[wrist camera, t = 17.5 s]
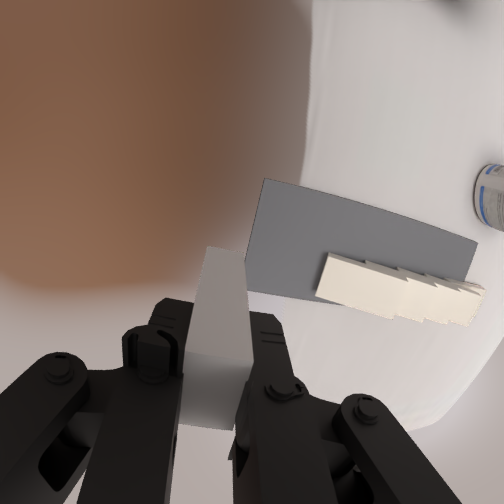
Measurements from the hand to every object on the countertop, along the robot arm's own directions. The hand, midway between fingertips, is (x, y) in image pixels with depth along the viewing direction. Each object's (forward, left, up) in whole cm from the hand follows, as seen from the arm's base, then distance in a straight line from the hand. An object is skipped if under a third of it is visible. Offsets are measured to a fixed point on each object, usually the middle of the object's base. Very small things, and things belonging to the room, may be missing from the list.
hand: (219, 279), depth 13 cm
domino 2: (+6, +18, -19) cm, 27 cm away
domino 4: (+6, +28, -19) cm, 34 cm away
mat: (+3, +21, -21) cm, 29 cm away
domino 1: (+6, +13, -19) cm, 24 cm away
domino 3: (+6, +23, -19) cm, 30 cm away
